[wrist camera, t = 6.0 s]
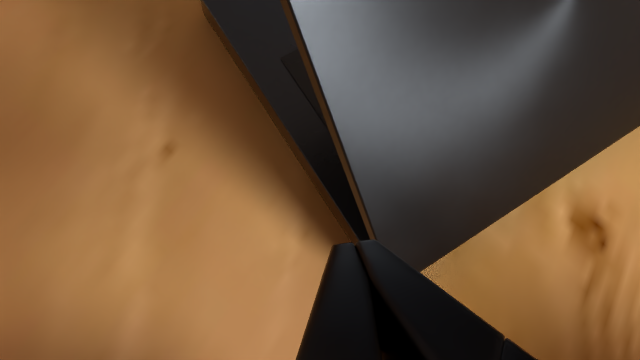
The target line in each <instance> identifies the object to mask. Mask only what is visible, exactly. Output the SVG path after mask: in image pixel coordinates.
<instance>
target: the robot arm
mask: <svg viewBox="0 0 640 360" xmlns="http://www.w3.org/2000/svg"><path fill="white" fill-rule="evenodd" d="M504 339H505V336H504V335H503V334H502V333H500V332H499V331H498V330H496V329H495V328H494V327H492V326H491V325H490V324H488V323H487V322H486V321H484V320H483V319H482V318H480V317H479V316H477V315H476V314H475V313H473V312H472V311H471V310H469V309H468V308H467V307H465V306H464V305H463V304H461V303H460V302H459V301H457V300H456V299H455V298H453V297H452V296H451V295H449V294H448V293H447V292H445V291H444V290H443V289H441V288H440V287H439V286H437V285H436V284H435V283H433V282H432V281H431V280H429V279H428V278H427V277H425V276H424V275H423V274H421V273H420V272H418V271H417V270H416V269H414V268H413V267H412V266H410V265H409V264H408V263H406V262H405V261H404V260H402V259H401V258H400V257H398V256H397V255H396V254H394V253H393V252H392V251H390V250H389V249H388V248H386V247H385V246H384V245H382V244H381V243H380V242H378V241H377V240H374V239H372V240H365V241H358V242H356V243H355V245H354V244H353V243H343V244H335V245H333V246H332V248H331V251H330V254H329V257H328V260H327V263H326V266H325V270H324V273H323V276H322V279H321V282H320V285H319V288H318V292H317V295H316V298H315V301H314V304H313V307H312V310H311V314H310V317H309V320H308V323H307V326H306V329H305V332H304V335H303V339H302V342H301V345H300V348H299V351H298V354H297V357H296V360H537V359H536V358H535V357H533V356H532V355H530V354H529V353H527V352H526V351H525V350H523V349H522V348H521V347H519V346H518V345H517V344H515V343H514V342H513V341H511V340H510V339H508V338H506V339H505V340H504Z"/></svg>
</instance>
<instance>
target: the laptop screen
mask: <svg viewBox="0 0 640 360" xmlns="http://www.w3.org/2000/svg"><path fill="white" fill-rule="evenodd" d="M280 2H281V4H282V7H283V10H284V12H285V15H286V18H287V20H288V23H289V26H290V28H291V31H292V34H293V36H294V39H295V41H296V44H297V47H298V49H299V52H300V55H301V57H302V60H303V63H304V65H305V68H306V71H307V73H308V76H309V79H310V81H311V84H312V86H313V89H314V92H315V94H316V97H317V100H318V102H319V105H320V108H321V110H322V113H323V116H324V118H325V121H326V124H327V126H328V129H329V132H330V134H331V137H332V139H333V142H334V145H335V147H336V150H337V153H338V155H339V158H340V161H341V163H342V166H343V169H344V171H345V174H346V177H347V179H348V182H349V184H350V187H351V190H352V192H353V195H354V198H355V200H356V203H357V206H358V208H359V211H360V214H361V216H362V219H363V222H364V224H365V227H366V230H367V232H368V235H369V237H370V240H372V239H374V240H377V241H378V242H380V243H381V244H382V245H384V246H385V247H386V248H388V249H389V250H390V251H392V252H393V253H394V254H396V255H397V256H398V257H400V258H401V259H402V260H404V261H405V262H406V263H408V264H409V265H410V266H412V267H413V268H414V269H416V270H417V271H418V272H421V271H422V270H424V269H425V268H427V267H428V266H430V265H431V264H433V263H434V262H436V261H437V260H439V259H440V258H442V257H443V256H445V255H446V254H448V253H449V252H451V251H452V250H454V249H455V248H457V247H458V246H460V245H461V244H463V243H464V242H466V241H467V240H469V239H470V238H472V237H473V236H475V235H476V234H478V233H479V232H481V231H482V230H484V229H485V228H487V227H488V226H490V225H491V224H493V223H494V222H496V221H497V220H499V219H500V218H502V217H503V216H505V215H506V214H508V213H509V212H511V211H512V210H514V209H515V208H517V207H518V206H520V205H521V204H523V203H524V202H526V201H527V200H529V199H531V198H532V197H534V196H535V195H537V194H538V193H540V192H541V191H543V190H544V189H546V188H547V187H549V186H550V185H552V184H553V183H555V182H556V181H558V180H559V179H561V178H562V177H564V176H565V175H567V174H568V173H570V172H571V171H573V170H574V169H576V168H577V167H579V166H580V165H582V164H583V163H585V162H586V161H588V160H589V159H591V158H592V157H594V156H595V155H597V154H598V153H600V152H601V151H603V150H604V149H606V148H607V147H609V146H610V145H612V144H613V143H615V142H616V141H618V140H619V139H621V138H622V137H624V136H625V135H627V134H628V133H630V132H631V131H633V130H634V129H636V128H637V127H639V126H640V0H280Z"/></svg>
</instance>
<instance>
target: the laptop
mask: <svg viewBox="0 0 640 360" xmlns="http://www.w3.org/2000/svg"><path fill="white" fill-rule="evenodd" d="M200 1H201V5H202V8H203V11H204V15H205V16H206V18H207V20H208V21H209V23H210V24H211V26H212V27H213V29H214V30H215V32H216V34H217V35H218V37H219V38H220V40H221V41H222V43H223V44H224V46H225V47H226V49H227V51H228V52H229V54H230V55H231V57H232V58H233V60H234V61H235V63H236V65H237V66H238V68H239V69H240V71H241V72H242V74H243V75H244V77H245V78H246V80H247V82H248V83H249V85H250V86H251V88H252V89H253V91H254V92H255V94H256V95H257V97H258V99H259V100H260V102H261V103H262V105H263V106H264V108H265V109H266V111H267V113H268V114H269V116H270V117H271V119H272V120H273V122H274V123H275V125H276V126H277V128H278V130H279V131H280V133H281V134H282V136H283V137H284V139H285V140H286V142H287V143H288V145H289V147H290V148H291V150H292V151H293V153H294V154H295V156H296V157H297V159H298V161H299V162H300V164H301V165H302V167H303V168H304V170H305V171H306V173H307V174H308V176H309V178H310V179H311V181H312V182H313V184H314V185H315V187H316V188H317V190H318V191H319V193H320V195H321V196H322V198H323V199H324V201H325V202H326V204H327V205H328V207H329V209H330V210H331V212H332V213H333V215H334V216H335V218H336V219H337V221H338V222H339V224H340V226H341V227H342V229H343V230H344V232H345V233H346V235H347V236H348V238H349V240H350V241H351V243H353V244H354V245H355V243H356V242H358V241H365V240H370V237H369V235H368V232H367V230H366V227H365V224H364V222H363V219H362V216H361V214H360V211H359V208H358V206H357V203H356V200H355V198H354V195H353V192H352V190H351V187H350V184H349V182H348V179H347V177H346V174H345V171H344V169H343V166H342V163H341V161H340V158H339V155H338V153H337V150H336V147H335V145H334V142H333V139H332V137H331V134H330V132H329V129H328V126H327V124H326V121H325V118H324V116H323V113H322V110H321V108H320V105H319V102H318V100H317V97H316V94H315V92H314V89H313V86H312V84H311V81H310V79H309V76H308V73H307V71H306V68H305V65H304V63H303V60H302V57H301V55H300V52H299V49H298V47H297V44H296V41H295V39H294V36H293V34H292V31H291V28H290V26H289V23H288V20H287V18H286V15H285V12H284V10H283V7H282V4H281V2H280V0H200Z"/></svg>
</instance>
